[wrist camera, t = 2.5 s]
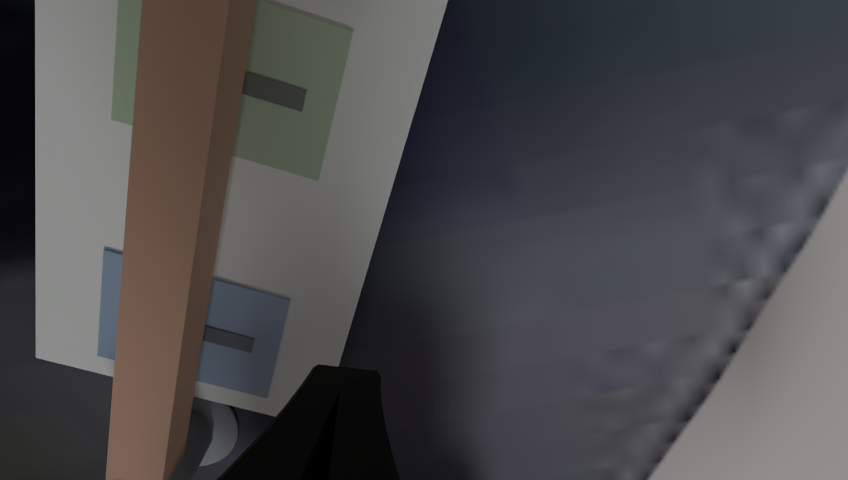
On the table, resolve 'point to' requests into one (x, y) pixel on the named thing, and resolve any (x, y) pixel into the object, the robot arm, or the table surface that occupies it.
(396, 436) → the table surface
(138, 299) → the swing bar
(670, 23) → the table surface
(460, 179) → the table surface
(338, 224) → the label panel
